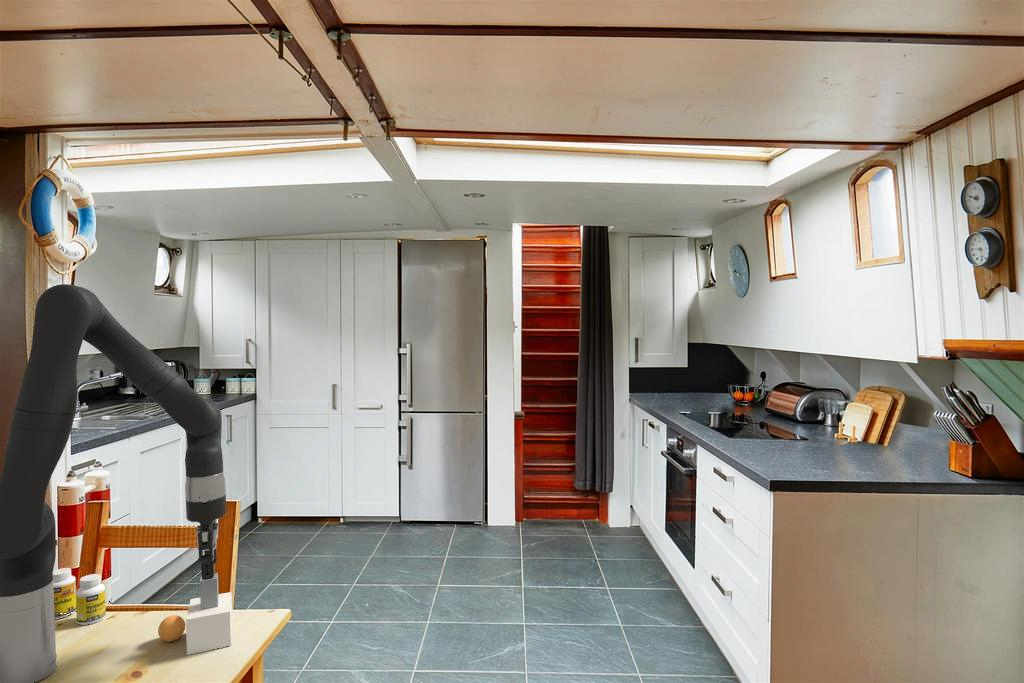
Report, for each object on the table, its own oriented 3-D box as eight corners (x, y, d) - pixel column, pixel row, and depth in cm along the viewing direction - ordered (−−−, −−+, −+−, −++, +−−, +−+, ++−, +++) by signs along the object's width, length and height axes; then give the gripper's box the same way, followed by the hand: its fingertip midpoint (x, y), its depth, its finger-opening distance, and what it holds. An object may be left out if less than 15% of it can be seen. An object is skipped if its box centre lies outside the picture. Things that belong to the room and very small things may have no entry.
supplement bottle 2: (85, 628, 132) (84, 584, 132) (71, 623, 134) (69, 579, 134) (111, 616, 137) (109, 574, 136) (97, 612, 139) (95, 570, 139)
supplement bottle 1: (45, 623, 134) (43, 578, 134) (47, 613, 139) (46, 570, 139) (76, 616, 137) (74, 572, 137) (77, 606, 142) (75, 564, 142)
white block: (187, 655, 120) (184, 590, 120) (191, 631, 129) (189, 571, 129) (231, 645, 123) (228, 582, 123) (232, 624, 132) (230, 565, 132)
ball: (156, 648, 123) (155, 624, 123) (160, 637, 127) (159, 613, 127) (184, 643, 125) (183, 619, 125) (186, 631, 129) (186, 609, 129)
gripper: (189, 489, 130) (192, 562, 131) (181, 506, 117) (185, 588, 118) (227, 484, 133) (230, 556, 134) (224, 501, 120) (227, 580, 121)
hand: (209, 571), depth 126 cm, fingers open, 8 cm apart
